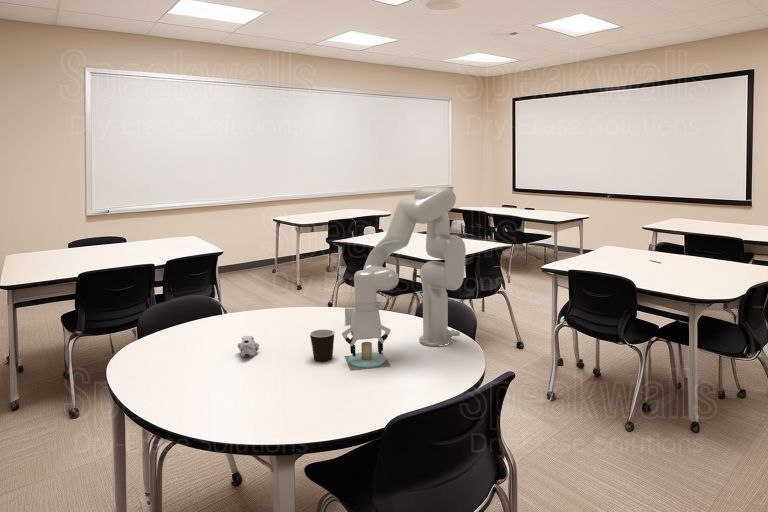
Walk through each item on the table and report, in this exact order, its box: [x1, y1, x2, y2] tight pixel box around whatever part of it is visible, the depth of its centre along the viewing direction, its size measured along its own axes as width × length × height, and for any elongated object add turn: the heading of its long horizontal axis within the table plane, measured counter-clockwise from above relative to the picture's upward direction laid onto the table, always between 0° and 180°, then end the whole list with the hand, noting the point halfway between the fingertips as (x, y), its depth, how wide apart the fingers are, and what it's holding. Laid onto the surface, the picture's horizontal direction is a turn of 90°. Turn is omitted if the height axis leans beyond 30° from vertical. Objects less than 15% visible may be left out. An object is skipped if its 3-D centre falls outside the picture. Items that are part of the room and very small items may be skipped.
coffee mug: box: [309, 328, 335, 363], centre depth 187 cm, size 12×9×10 cm
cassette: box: [344, 307, 355, 327], centre depth 226 cm, size 12×2×8 cm, turn 87°
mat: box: [344, 352, 392, 372], centre depth 184 cm, size 14×14×1 cm
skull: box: [237, 335, 260, 358], centre depth 192 cm, size 8×9×12 cm
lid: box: [348, 341, 387, 369], centre depth 183 cm, size 13×13×6 cm
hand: (366, 354), depth 183 cm, fingers open, 8 cm apart
